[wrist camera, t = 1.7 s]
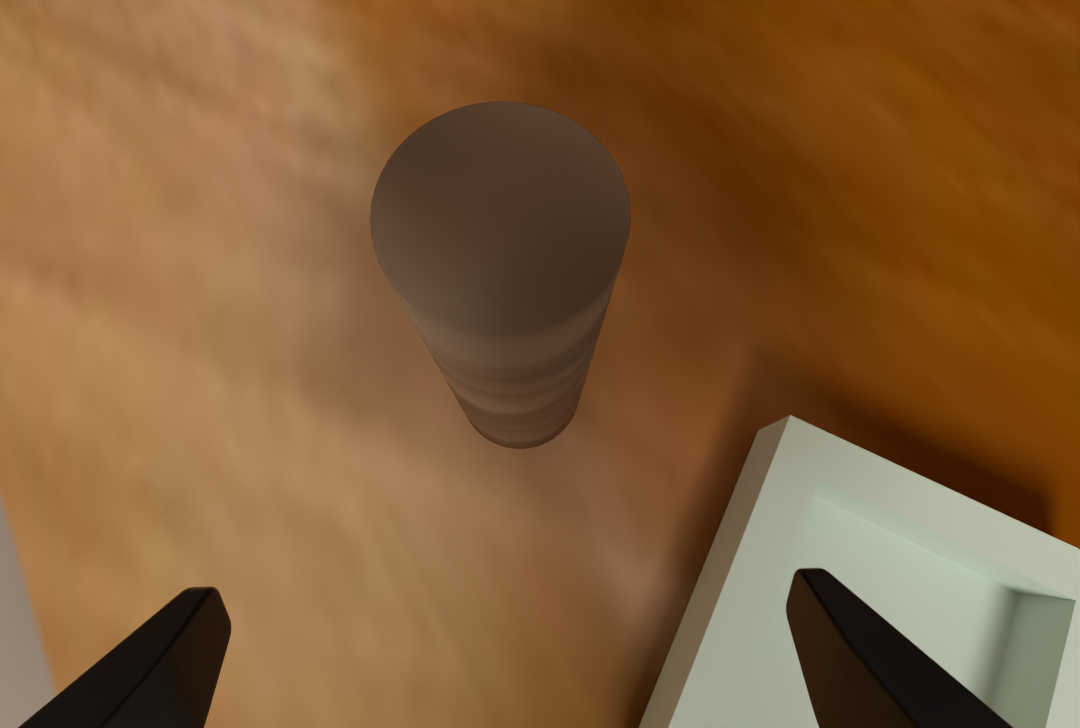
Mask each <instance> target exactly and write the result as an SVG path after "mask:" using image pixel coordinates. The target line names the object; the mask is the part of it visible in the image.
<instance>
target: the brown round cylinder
mask: <svg viewBox="0 0 1080 728" xmlns="http://www.w3.org/2000/svg"><path fill="white" fill-rule="evenodd" d="M370 222H371V235H372V240H373V244H374V249H375V252H376V254H377V257H378V260H379V262H380V264H381V266H382V268H383V270H384V272H385V274H386V275H387V277H388V279H389V281H390V282H391V284H392V286H393V288H394V289H395V291H396V293H397V295H398V296H399V298H400V300H401V302H402V304H403V305H404V307H405V309H406V311H407V312H408V314H409V316H410V318H411V319H412V321H413V323H414V325H415V326H416V328H417V330H418V332H419V333H420V335H421V337H422V339H423V340H424V342H425V344H426V346H427V347H428V349H429V351H430V353H431V354H432V356H433V358H434V360H435V361H436V363H437V365H438V367H439V368H440V370H441V372H442V374H443V375H444V377H445V379H446V381H447V382H448V384H449V386H450V388H451V389H452V391H453V393H454V395H455V396H456V398H457V400H458V402H459V403H460V405H461V407H462V409H463V410H464V412H465V414H466V416H467V417H468V419H469V421H470V422H471V424H472V425H473V427H474V428H475V429H476V430H477V431H478V432H479V433H480V434H481V435H482V436H484V437H485V438H486V439H488V440H490V441H491V442H493V443H496V444H498V445H501V446H504V447H508V448H516V449H524V448H531V447H535V446H539V445H541V444H544V443H546V442H548V441H550V440H552V439H553V438H555V437H556V436H557V435H559V434H560V433H561V432H562V431H563V430H564V429H565V428H566V426H567V425H568V424H569V422H570V421H571V419H572V417H573V415H574V413H575V410H576V408H577V405H578V401H579V398H580V395H581V391H582V388H583V385H584V382H585V378H586V375H587V372H588V369H589V365H590V362H591V359H592V355H593V352H594V349H595V346H596V342H597V339H598V336H599V333H600V329H601V326H602V323H603V319H604V316H605V313H606V310H607V306H608V303H609V300H610V297H611V293H612V290H613V287H614V284H615V280H616V277H617V274H618V270H619V267H620V264H621V261H622V257H623V254H624V251H625V247H626V243H627V239H628V235H629V227H630V203H629V198H628V193H627V188H626V186H625V183H624V180H623V177H622V174H621V172H620V170H619V168H618V166H617V164H616V163H615V161H614V159H613V158H612V157H611V155H610V154H609V152H608V151H607V149H606V148H605V147H604V146H603V145H602V144H601V143H600V142H599V141H598V139H597V138H596V137H594V136H593V135H592V134H591V133H590V132H589V131H587V130H586V129H585V128H584V127H582V126H581V125H579V124H577V123H576V122H574V121H573V120H571V119H569V118H567V117H565V116H563V115H561V114H559V113H557V112H554V111H552V110H549V109H546V108H543V107H539V106H535V105H531V104H526V103H517V102H487V103H478V104H474V105H469V106H465V107H461V108H458V109H455V110H452V111H449V112H447V113H445V114H443V115H441V116H439V117H436V118H434V119H433V120H431V121H429V122H428V123H426V124H425V125H423V126H421V127H420V128H419V129H417V130H416V131H415V132H414V133H412V134H411V135H410V136H409V137H408V138H407V139H406V140H405V141H404V142H403V143H402V144H401V145H400V146H399V147H398V148H397V149H396V151H395V152H394V153H393V155H392V156H391V157H390V159H389V160H388V162H387V163H386V165H385V167H384V169H383V171H382V172H381V174H380V177H379V179H378V182H377V184H376V187H375V191H374V195H373V199H372V204H371V216H370Z"/></svg>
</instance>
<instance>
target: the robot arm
mask: <svg viewBox="0 0 1080 728" xmlns="http://www.w3.org/2000/svg"><path fill="white" fill-rule="evenodd" d="M786 615H787V620H788V624H789V627H790V631H791V634H792V638H793V641H794V645H795V648H796V652H797V655H798V659H799V662H800V666H801V670H802V673H803V677H804V680H805V684H806V687H807V691H808V694H809V698H810V701H811V705H812V708H813V711H814V714H815V718H816V720H817V723H818V726H819V728H1013V727H1012V726H1011V725H1010V724H1009V723H1007V722H1006V721H1005V720H1004V719H1003V718H1001V717H1000V716H999V715H998V714H997V713H995V712H994V711H993V710H992V709H991V708H990V707H988V706H987V705H986V704H985V703H984V702H982V701H981V700H980V699H979V698H978V697H976V696H975V695H974V694H973V693H972V692H971V691H969V690H968V689H967V688H966V687H965V686H963V685H962V684H961V683H960V682H959V681H958V680H956V679H955V678H954V677H953V676H952V675H950V674H949V673H948V672H947V671H946V670H944V669H943V668H942V667H941V666H940V665H939V664H937V663H936V662H935V661H934V660H933V659H931V658H930V657H929V656H928V655H927V654H925V653H924V652H923V651H922V650H921V649H920V648H918V647H917V646H916V645H915V644H914V643H912V642H911V641H910V640H909V639H908V638H906V637H905V636H904V635H903V634H902V633H901V632H899V631H898V630H897V629H896V628H895V627H893V626H892V625H891V624H890V623H889V622H888V621H886V620H885V619H884V618H883V617H882V616H880V615H879V614H878V613H877V612H876V611H874V610H873V609H872V608H871V607H870V606H869V605H867V604H866V603H865V602H864V601H863V600H861V599H860V598H859V597H858V596H857V595H855V594H854V593H853V592H852V591H851V590H850V589H848V588H847V587H846V586H845V585H844V584H842V583H841V582H840V581H839V580H838V579H836V578H835V577H834V576H833V575H832V574H831V573H829V572H828V571H827V570H825V569H822V568H800V569H798V570H796V572H795V573H794V576H793V579H792V583H791V587H790V591H789V594H788V598H787V602H786ZM230 635H231V621H230V618H229V616H228V613H227V611H226V608H225V605H224V603H223V600H222V598H221V595H220V593H219V591H218V590H217V589H216V588H215V587H191V588H187V589H186V590H184V591H182V592H181V593H180V594H179V595H177V596H176V597H175V598H174V599H173V600H171V601H170V602H169V603H168V604H167V605H165V606H164V607H163V608H162V609H160V610H159V611H158V612H157V613H156V614H154V615H153V616H152V617H151V618H150V619H148V620H147V621H146V622H145V623H144V624H142V625H141V626H140V627H139V628H138V629H136V630H135V631H134V632H133V633H132V634H130V635H129V636H128V637H127V638H126V639H124V640H123V641H122V642H121V643H120V644H118V645H117V646H116V647H115V648H114V649H112V650H111V651H110V652H109V653H107V654H106V655H105V656H104V657H103V658H101V659H100V660H99V661H98V662H97V663H95V664H94V665H93V666H92V667H91V668H89V669H88V670H87V671H86V672H85V673H83V674H82V675H81V676H80V677H79V678H77V679H76V680H75V681H74V682H73V683H71V684H70V685H69V686H68V687H67V688H65V689H64V690H63V691H62V692H61V693H59V694H58V695H57V696H56V697H55V698H53V699H52V700H51V701H50V702H48V703H47V704H46V705H45V706H44V707H42V708H41V709H40V710H39V711H38V712H36V713H35V714H34V715H33V716H32V717H30V718H29V719H28V720H27V721H26V722H24V723H23V724H22V725H21V726H20V727H19V728H204V726H205V723H206V719H207V716H208V713H209V709H210V706H211V702H212V699H213V695H214V692H215V688H216V685H217V681H218V678H219V674H220V671H221V667H222V664H223V660H224V657H225V653H226V650H227V646H228V643H229V639H230Z"/></svg>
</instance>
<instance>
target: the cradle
mask: <svg viewBox="0 0 1080 728" xmlns="http://www.w3.org/2000/svg"><path fill="white" fill-rule="evenodd" d="M800 568H822V569H825V570H827V571H828V572H829V573H831V574H832V575H833V576H834V577H835V578H836V579H838V580H839V581H840V582H841V583H842V584H844V585H845V586H846V587H847V588H848V589H850V590H851V591H852V592H853V593H854V594H855V595H857V596H858V597H859V598H860V599H861V600H863V601H864V602H865V603H866V604H867V605H869V606H870V607H871V608H872V609H873V610H874V611H876V612H877V613H878V614H879V615H880V616H882V617H883V618H884V619H885V620H886V621H888V622H889V623H890V624H891V625H892V626H893V627H895V628H896V629H897V630H898V631H899V632H901V633H902V634H903V635H904V636H905V637H906V638H908V639H909V640H910V641H911V642H912V643H914V644H915V645H916V646H917V647H918V648H920V649H921V650H922V651H923V652H924V653H925V654H927V655H928V656H929V657H930V658H931V659H933V660H934V661H935V662H936V663H937V664H939V665H940V666H941V667H942V668H943V669H944V670H946V671H947V672H948V673H949V674H950V675H952V676H953V677H954V678H955V679H956V680H958V681H959V682H960V683H961V684H962V685H963V686H965V687H966V688H967V689H968V690H969V691H971V692H972V693H973V694H974V695H975V696H976V697H978V698H979V699H980V700H981V701H982V702H984V703H985V704H986V705H987V706H988V707H990V708H991V709H992V710H993V711H994V712H995V713H997V714H998V715H999V716H1000V717H1001V718H1003V719H1004V720H1005V721H1006V722H1007V723H1009V724H1010V725H1011V726H1012V727H1013V728H1080V549H1078V548H1076V547H1074V546H1072V545H1069V544H1067V543H1065V542H1063V541H1061V540H1059V539H1057V538H1054V537H1052V536H1050V535H1048V534H1046V533H1044V532H1041V531H1039V530H1037V529H1035V528H1033V527H1031V526H1029V525H1026V524H1024V523H1022V522H1020V521H1018V520H1016V519H1013V518H1011V517H1009V516H1007V515H1005V514H1003V513H1001V512H998V511H996V510H994V509H992V508H990V507H988V506H985V505H983V504H981V503H979V502H977V501H975V500H973V499H970V498H968V497H966V496H964V495H962V494H960V493H957V492H955V491H953V490H951V489H949V488H947V487H945V486H942V485H940V484H938V483H936V482H934V481H932V480H929V479H927V478H925V477H923V476H921V475H919V474H917V473H914V472H912V471H910V470H908V469H906V468H904V467H902V466H899V465H897V464H895V463H893V462H891V461H889V460H886V459H884V458H882V457H880V456H878V455H876V454H874V453H871V452H869V451H867V450H865V449H863V448H861V447H858V446H856V445H854V444H852V443H850V442H848V441H846V440H843V439H841V438H839V437H837V436H835V435H833V434H830V433H828V432H826V431H824V430H822V429H820V428H818V427H815V426H813V425H811V424H809V423H807V422H805V421H802V420H800V419H798V418H796V417H794V416H792V415H789V416H787V417H785V418H783V419H781V420H779V421H777V422H775V423H772V424H770V425H768V426H766V427H764V428H762V429H760V430H758V431H757V434H756V436H755V439H754V441H753V444H752V446H751V449H750V451H749V454H748V456H747V459H746V461H745V464H744V466H743V469H742V471H741V474H740V476H739V479H738V481H737V484H736V486H735V489H734V491H733V494H732V496H731V499H730V501H729V504H728V506H727V509H726V511H725V513H724V516H723V518H722V521H721V523H720V526H719V528H718V531H717V533H716V536H715V538H714V541H713V543H712V546H711V548H710V551H709V553H708V556H707V558H706V561H705V563H704V566H703V568H702V571H701V573H700V576H699V578H698V581H697V583H696V586H695V588H694V591H693V593H692V596H691V598H690V601H689V603H688V606H687V608H686V611H685V613H684V616H683V618H682V621H681V623H680V626H679V628H678V631H677V633H676V635H675V638H674V640H673V643H672V645H671V648H670V650H669V653H668V655H667V658H666V660H665V663H664V665H663V668H662V670H661V673H660V675H659V678H658V680H657V683H656V685H655V688H654V690H653V693H652V695H651V698H650V700H649V703H648V705H647V708H646V710H645V713H644V715H643V718H642V720H641V723H640V725H639V728H819V726H818V723H817V720H816V718H815V714H814V711H813V708H812V705H811V701H810V698H809V694H808V691H807V687H806V684H805V680H804V677H803V673H802V670H801V666H800V662H799V659H798V655H797V652H796V648H795V645H794V641H793V638H792V634H791V631H790V627H789V624H788V620H787V615H786V602H787V598H788V594H789V591H790V587H791V583H792V579H793V576H794V573H795V572H796V570H798V569H800Z"/></svg>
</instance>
